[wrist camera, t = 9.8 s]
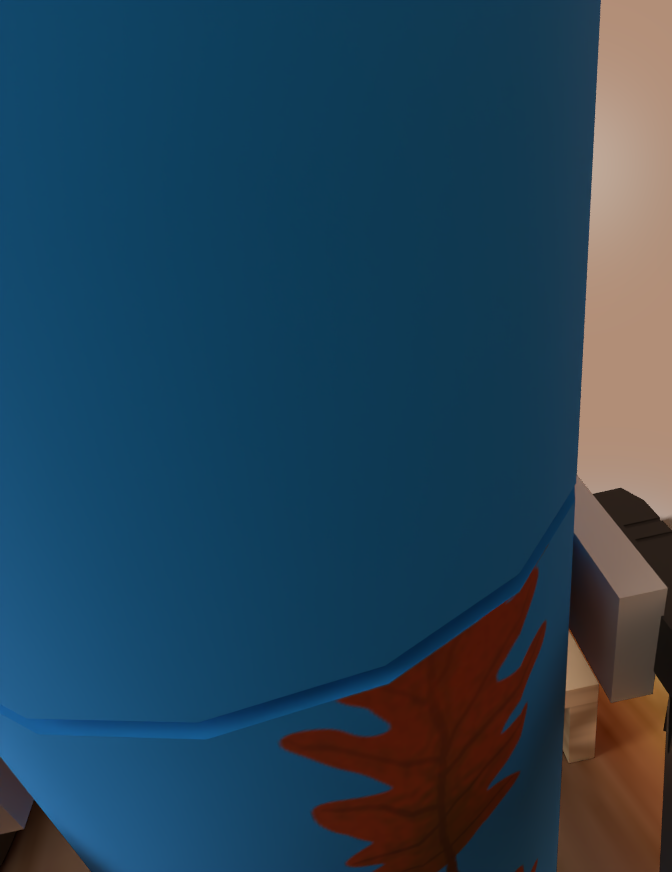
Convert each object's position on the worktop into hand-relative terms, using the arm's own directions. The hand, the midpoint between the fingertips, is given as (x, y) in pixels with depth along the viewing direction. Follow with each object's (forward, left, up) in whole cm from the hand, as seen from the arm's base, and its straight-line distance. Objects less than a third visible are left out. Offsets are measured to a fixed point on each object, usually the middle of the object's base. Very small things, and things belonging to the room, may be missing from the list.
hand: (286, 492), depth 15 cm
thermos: (+2, -4, -14) cm, 14 cm away
